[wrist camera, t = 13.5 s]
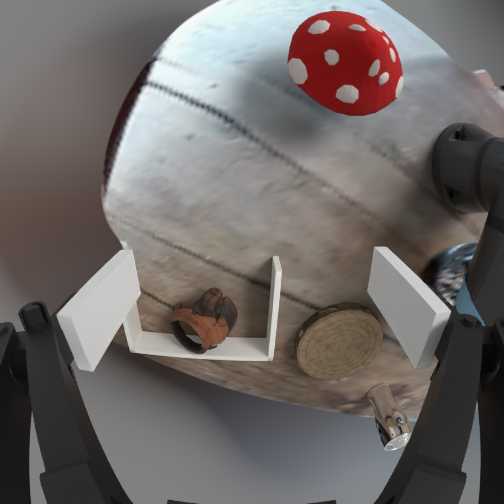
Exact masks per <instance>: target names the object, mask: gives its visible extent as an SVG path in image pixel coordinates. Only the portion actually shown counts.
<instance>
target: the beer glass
mask: <svg viewBox="0 0 504 504" xmlns="http://www.w3.org/2000/svg"><path fill="white" fill-rule="evenodd" d="M367 400H368V401H369V402H370V404H371V406H372V408H373V411H374V417H375V423H376V428H377V432H378V435H379V437H380V440H381V442H382V444H383V446H384V449H385V450H387V451H392V450H396V449H398V448H401V447H403V446H404V445H406V444H407V443H408V441H409V438H410V436H411V434H412V432H413V431H412V427H411V425H410V422H409V420H408V418H407V416H406V414H405V413H404V411H403V410H402V408H401V407H400V406H399V404H398V403H397V402H396V400H395V399H394V397H393V394H392V390H391V386H390V385H389V384H379V385H377V386H375V387H373V388H372V389H371V390H370V391H369V392H368V393H367Z"/></svg>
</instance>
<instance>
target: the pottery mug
mask: <svg viewBox="0 0 504 504" xmlns="http://www.w3.org/2000/svg"><path fill="white" fill-rule="evenodd" d="M222 295H223V293H222V292H221V290H220V289H217V288H211V289H209V290H208V291H207V292H206V293H205V294H204V296H203V297H202V298H201V299H200V300H199V301H197V303H196V306H195V312H196V313H197V314H193V310H192V309H184V308H183V309H181V307H182V304H181V302H179V303H178V304H177V306H176V307H175V311H174V316H172V317H171V319H172V320H173V322H172V323H170V328H171V331H172V333H173V335H174V336H175V338H176V339H177V340H178V341H179V342H180V344H182V345H183V346H184V347H185V348H186V349H188V350H189V351H191V352H194V353H196V354H204V353H205V352H206V351H207V350H211V349H214V348H217V346H218V345H217V344H221V343H222V342H223V341H224V340H225V339H226V336H228V334H229V333H230V332H231V331H232V330H233V328H234V325H235V322H236V320H237V310H236V307H235V305H234V303H233V302H232V301H231V300H230V299H229V298H228V297H225V299H224V300H223V298H222ZM216 313H217V314H219V316H218V318H217V320H216V318H215V317H214V316H215V315H216ZM179 321H183V322H185V323H187V324H189V325H190V326H191V327H192V328H193V329H194V330H195V331H196V332H197V334H198V335H199V336H200V338H201V340H202V343H203V347H201V346H202V344H201V343H196V342H194V341H193V340H192V339H191V338H189V337H188V336H186V333H185V332H184V330H183V329H182V328H181V326H180V324H179ZM212 345H215V346H212Z"/></svg>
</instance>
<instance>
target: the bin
mask: <svg viewBox="0 0 504 504" xmlns="http://www.w3.org/2000/svg"><path fill="white" fill-rule="evenodd" d="M281 276H282V269H281V265H280V261H279V257H278V256H273V259H272V274H271V287H270V300H269V313H268V326H267V338H244V337H226V339H225V340H224V341H223V342H222V343H221V344H217V345H218V346H217V348H214V349H211V350H207V351H206V352H205V353H204V354H196V353H194V352H191V351H189V350H188V349H186V348H185V347H184V346H183V345H182V344H180V342H179V341H178V340H177V339H176V338H175V336H174V335H173V334H167V333H155V332H145V331H142V329H141V324H140V319H139V314H138V309H137V303H136V302H135V304H134V305H133V307H132V308H131V310H130V312H129V313H128V315H127V316H126V318H125V319H124V321H123V325H124V329H125V333H126V337H127V341H128V345H129V349H130V352H134V353H143V354H151V355H161V356H171V357H183V358H197V359H214V360H242V361H273V356H274V347H275V337H276V328H277V318H278V308H279V298H280V287H281ZM186 336H188V337H189V338H191V339H192V340H193V341H194V342H196V343H201V344H202V346H201V347H203V343H202V340H201V338H200V336H196V335H186ZM212 346H215V345H212Z"/></svg>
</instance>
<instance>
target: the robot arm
mask: <svg viewBox="0 0 504 504" xmlns="http://www.w3.org/2000/svg"><path fill="white" fill-rule="evenodd" d="M433 177H434V181H435V185H436V188H437V190H438V193H439V195H440V196H441V198H442V199H443V200H444V202H445V203H446V204H447V205H449V206H450V207H452V208H454V209H456V210H458V211H461V212H464V213H483V212H488V216H487V220H486V223H485V225H484V228H483V231H482V234H481V237H480V240H479V243H478V245H477V248H476V251H475V253H474V256H473V258H472V261H471V263H470V265H469V268H468V270H467V272H466V273H465V275H464V277H463V283H462V285H461V288H460V290H459V293H458V295H457V298H456V307H457V310H456V309H455V308H454V307H453V306H452V305H451V304H450V303H449V302H447V300H446V299H445V298H444V297H442V295H441V294H440V293H439V292H438V291H437V290H436V289H434V288H432V287H431V286H429V285H426V284H425V283H424V282H423V281H422V280H421V279H420V278H419V277H418V276H417V275H416V274H415V273H414V272H413V271H412V270H411V269H410V268H408V267H407V266H406V265H405V264H404V263H403V262H402V261H401V260H400V259H399V258H398V257H397V256H396V255H395V254H394V253H393V252H392V251H390V250H389V249H388V248H387V247H374V252H373V259H372V265H371V272H370V278H369V284H368V289H367V292H368V293H369V295H370V297H371V298H372V300H373V301H374V303H375V304H376V306H377V307H378V309H379V310H380V312H381V313H382V315H383V317H384V318H385V320H386V321H387V323H388V325H389V326H390V328H391V329H392V331H393V333H394V334H395V336H396V337H397V339H398V341H399V342H400V344H401V346H402V347H403V349H404V351H405V352H406V354H407V356H408V357H409V359H410V361H411V363H412V364H413V366H414V368H415V369H418V368H423V367H427V366H430V364H431V362H432V360H433V357H434V355H435V356H436V357H437V359H438V360H439V361H438V363H437V365H436V368H435V370H434V372H433V374H432V376H431V378H430V380H431V384H430V387H429V390H428V393H427V396H426V398H425V401H424V404H423V407H422V409H421V412H420V414H419V417H418V420H417V422H416V424H415V427H414V429H413V432H412V434H411V436H410V438H409V441H408V443H407V445H406V447H405V450H404V452H403V454H402V456H401V458H400V460H399V462H398V464H397V466H396V468H395V469H394V471H393V473H392V475H391V477H390V479H389V481H388V483H387V484H386V486H385V488H384V489H383V491H382V493H381V494H380V496H379V497H378V499H377V500H376V501H375V503H374V504H458V503H459V500H460V498H461V495H462V492H463V489H464V486H465V482H466V473H464V472H462V471H461V468H462V464H463V461H464V457H465V453H466V450H467V446H468V442H469V438H470V433H471V429H472V424H473V419H474V414H475V408H476V402H478V411H479V425H480V444H481V471H480V491H479V503H478V504H504V138H498V137H495V136H493V135H492V134H490V133H489V132H487V131H485V130H484V129H482V128H480V127H478V126H476V125H473V124H469V123H456V124H453V125H451V126H449V127H448V128H446V129H445V130H444V131H443V133H442V134H441V136H440V137H439V139H438V141H437V144H436V146H435V150H434V155H433ZM140 295H141V292H140V287H139V282H138V277H137V272H136V267H135V261H134V255H133V250H120V251H119V252H118V253H117V254H116V255H115V256H114V257H113V258H112V259H111V260H110V261H108V262H107V263H106V264H105V265H104V266H103V267H102V268H101V269H100V270H99V271H98V272H97V273H96V274H95V275H94V276H93V277H92V278H91V279H90V280H89V281H88V282H87V283H86V284H85V285H84V286H83V287H82V288H81V289H80V290H78V291H77V292H75V293H74V294H72V295H71V296H70V297H69V298H68V299H67V300H66V302H64V303H63V304H62V305H61V306H60V307H59V308H58V309H57V310H56V312H54V313H53V315H52V316H51V317H50V316H49V313H48V311H47V308H46V305H45V303H44V302H42V301H34V302H31V303H28V304H26V305H25V306H23V307H22V308H21V309H20V310H19V313H18V314H19V317H20V319H21V322H22V324H23V327H24V329H25V331H22V332H16V330H15V328H14V325H13V324H12V323H10V322H5V323H0V504H31V498H30V479H29V445H30V426H31V414H32V412H33V417H34V423H35V429H36V433H37V438H38V442H39V446H40V451H41V455H42V458H43V461H44V465H45V470H46V471H45V472H44V473H41V474H40V482H41V486H42V489H43V492H44V495H45V498H46V501H47V504H133V503H132V502H131V500H130V499H129V498H128V496H127V495H126V493H125V491H124V490H123V488H122V486H121V484H120V482H119V481H118V479H117V477H116V475H115V473H114V471H113V469H112V467H111V465H110V463H109V461H108V459H107V457H106V455H105V453H104V451H103V449H102V446H101V444H100V442H99V440H98V438H97V435H96V433H95V431H94V428H93V426H92V424H91V421H90V418H89V416H88V413H87V410H86V408H85V405H84V402H83V399H82V397H81V394H80V391H79V388H78V385H77V381H76V379H75V375H74V372H73V369H72V367H71V365H70V364H71V362H72V361H73V359H75V362H76V364H77V366H78V368H79V369H82V370H87V371H92V372H93V371H94V369H95V368H96V366H97V364H98V363H99V361H100V359H101V357H102V356H103V354H104V352H105V350H106V349H107V347H108V345H109V344H110V342H111V341H112V339H113V337H114V336H115V334H116V332H117V331H118V329H119V327H120V326H121V324H122V323H123V321H124V319H125V318H126V316H127V315H128V313H129V312H130V310H131V308H132V307H133V305H134V304H135V302H136V301H137V299H138V298H139V296H140ZM167 504H196V503H187V502H180V501H173V500H168V501H167ZM309 504H336V500H332V501H325V502H318V503H309Z"/></svg>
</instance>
